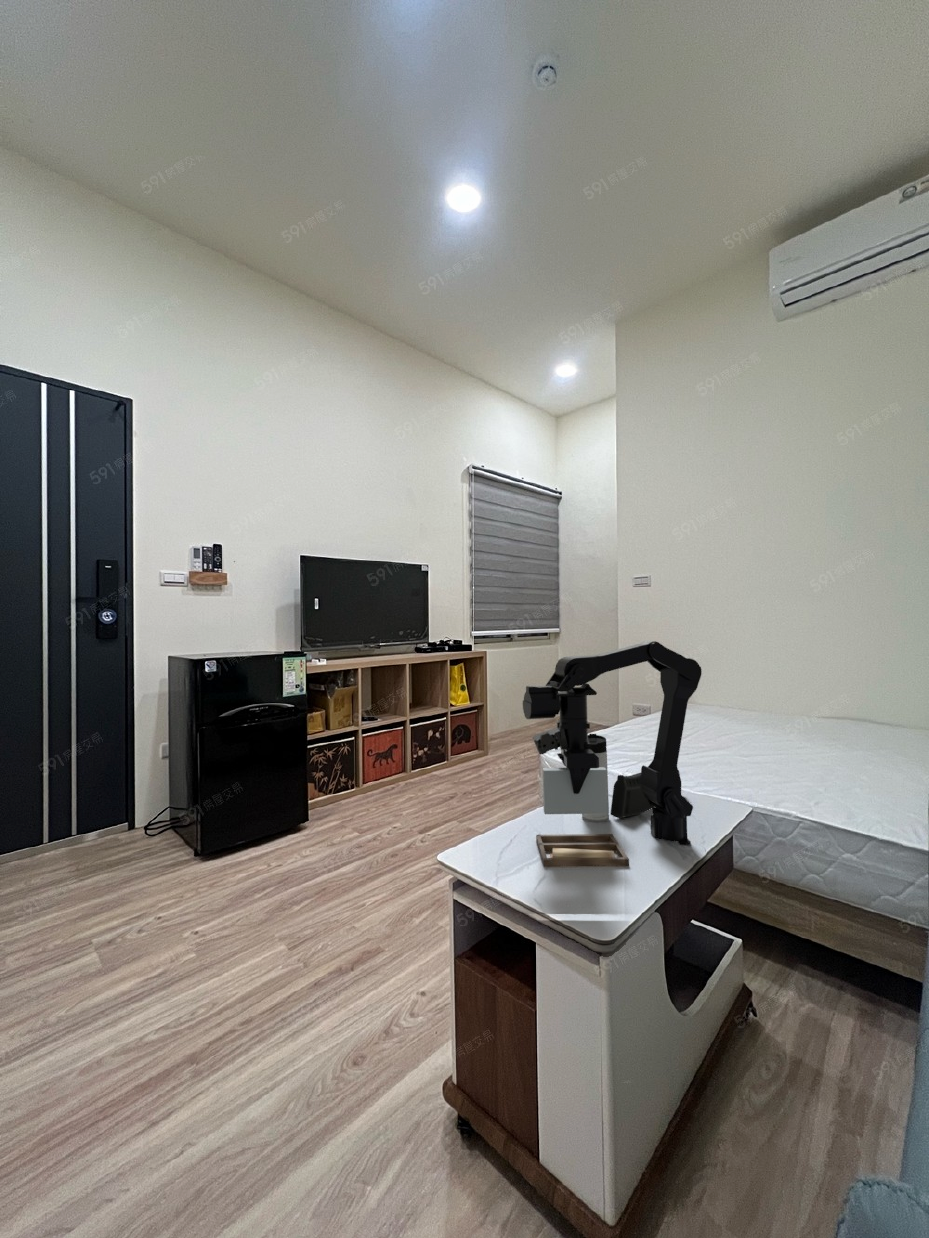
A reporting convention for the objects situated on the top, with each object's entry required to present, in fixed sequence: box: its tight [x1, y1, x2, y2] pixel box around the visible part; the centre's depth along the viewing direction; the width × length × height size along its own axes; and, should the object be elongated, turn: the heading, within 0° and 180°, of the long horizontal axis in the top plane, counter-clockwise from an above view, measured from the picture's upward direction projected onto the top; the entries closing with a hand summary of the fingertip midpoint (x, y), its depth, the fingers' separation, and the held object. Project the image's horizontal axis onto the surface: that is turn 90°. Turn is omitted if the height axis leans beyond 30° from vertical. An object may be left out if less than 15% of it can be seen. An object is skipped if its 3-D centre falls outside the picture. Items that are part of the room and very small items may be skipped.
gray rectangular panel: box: [542, 767, 609, 815], centre depth 107 cm, size 13×2×9 cm, turn 89°
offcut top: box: [552, 848, 616, 858], centre depth 101 cm, size 12×4×1 cm, turn 80°
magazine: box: [609, 769, 681, 819], centre depth 131 cm, size 17×3×30 cm
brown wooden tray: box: [535, 833, 630, 868], centre depth 103 cm, size 16×12×2 cm
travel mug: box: [581, 733, 610, 823], centre depth 123 cm, size 6×7×20 cm
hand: (575, 791), depth 107 cm, fingers closed on gray rectangular panel, 2 cm apart
